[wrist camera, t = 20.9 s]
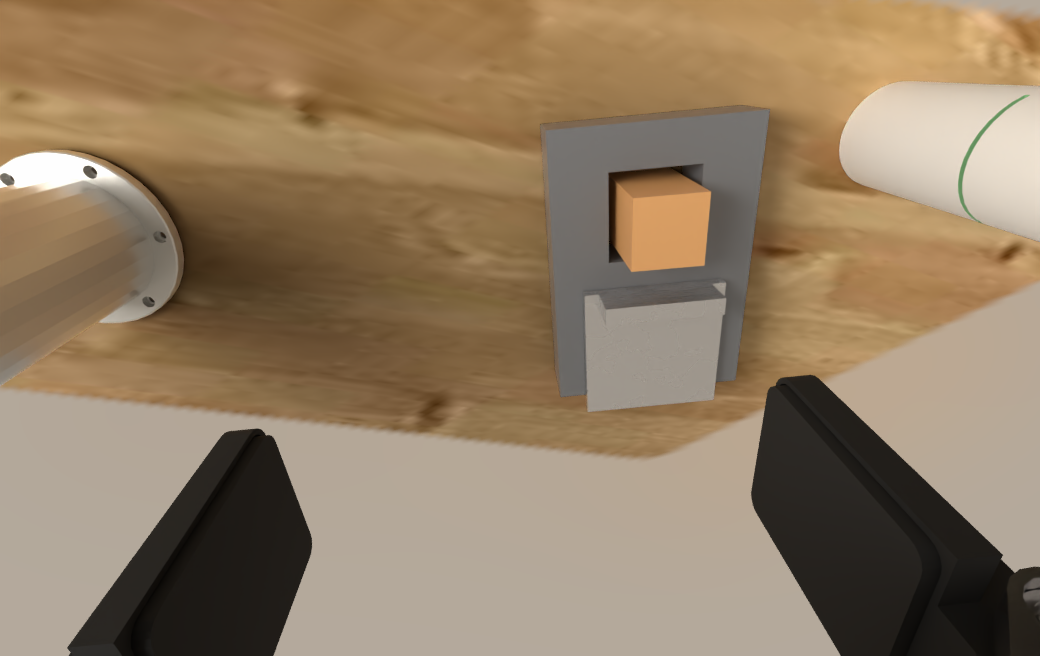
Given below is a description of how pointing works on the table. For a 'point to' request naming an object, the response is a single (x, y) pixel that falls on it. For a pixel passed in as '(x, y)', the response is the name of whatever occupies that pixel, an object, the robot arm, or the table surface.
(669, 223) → the plug peg
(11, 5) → the table surface
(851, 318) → the table surface
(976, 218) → the cylindrical container
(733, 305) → the socket block
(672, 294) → the panel
